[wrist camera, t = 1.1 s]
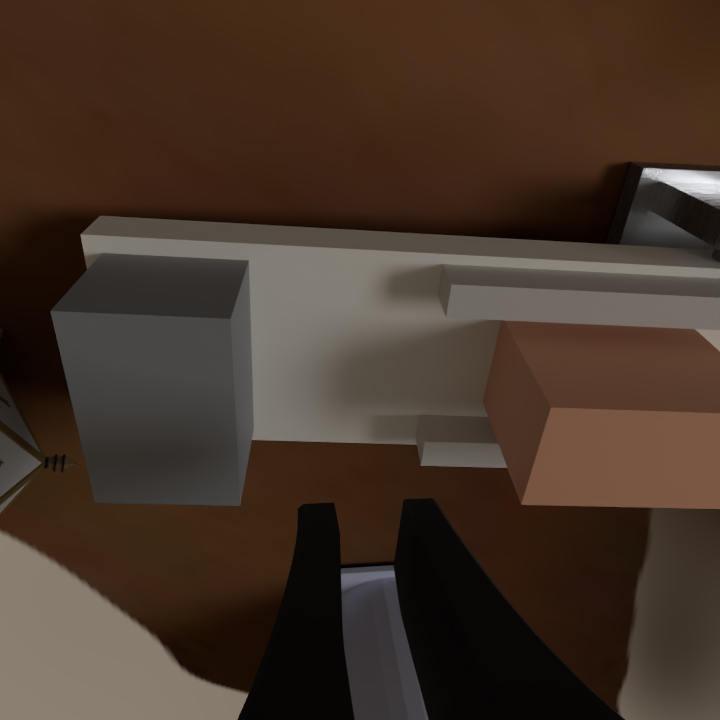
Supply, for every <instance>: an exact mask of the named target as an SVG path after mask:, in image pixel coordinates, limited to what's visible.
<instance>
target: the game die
mask: <svg viewBox="0 0 720 720" xmlns="http://www.w3.org/2000/svg"><path fill="white" fill-rule="evenodd" d="M2 334H3V328H2V329H0V343H3V340H2ZM75 464H77V463H75V462H74V461H72V460H70V459H69V458H67V457H66V456H65V455H63V456H57V455H55V456H54V457H45V455H44V453H43V451H42V449H41V447H40V445H39V444H38V442H37V440H36V438H35V436H34V434H33V432H32V431H31V429H30V427H29V425H28V423H27V421H26V419H25V418H24V416H23V414H22V412H21V410H20V408H19V406H18V405H17V403H16V401H15V399H14V397H13V395H12V393H11V391H10V390H9V388H8V386H7V384H6V382H5V380H4V378H3V377H2V375H1V373H0V516H1V515H2V514H3V513H4V512H5V510H6V509H7V508H8V507H9V506H10V505H11V504H12V503H13V502H14V501H15V500H16V498H17V497H18V496H19V495H20V494H21V493H22V492H23V491H24V490H25V489H26V488H27V487H28V485H29V484H30V483H31V482H32V481H33V480H34V479H35V478H36V477H37V476H38V475H39V473H40V472H41V471H42V470H43V469H44V468H50V469H53V471H55V470H61V472H63V470H65V469H67V468H69V467H71V466H73V465H75Z"/></svg>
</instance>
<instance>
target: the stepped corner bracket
mask: <svg viewBox="0 0 720 720" xmlns="http://www.w3.org/2000/svg"><path fill="white" fill-rule="evenodd" d="M606 244H614V245H631V246H649V247H667V248H685V249H703V250H714V249H715V248H716V249H718V250H720V166H704V165H683V164H661V163H640V162H631V163H630V166H629V170H628V173H627V176H626V179H625V183H624V186H623V189H622V192H621V195H620V199H619V202H618V205H617V208H616V212H615V215H614V218H613V221H612V225H611V228H610V231H609V234H608V237H607V241H606Z"/></svg>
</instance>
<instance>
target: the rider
mask: <svg viewBox="0 0 720 720" xmlns="http://www.w3.org/2000/svg"><path fill="white" fill-rule="evenodd" d="M483 404H484V407H485V409H486V412H487V415H488V417H489V420H490V423H491V425H492V428H493V431H494V433H495V436H496V439H497V441H498V444H499V447H500V449H501V452H502V455H503V457H504V460H505V463H506V465H507V468H508V471H509V473H510V476H511V479H512V481H513V484H514V487H515V489H516V492H517V495H518V497H519V500H520V503H521V505H560V506H607V507H654V508H701V509H720V351H719V350H717V349H716V348H715V347H714V346H713V345H712V344H711V343H710V342H709V341H708V340H706V339H705V338H704V337H703V336H702V335H701V334H700V333H699V332H698V331H697V330H695V329H682V328H660V327H638V326H616V325H594V324H572V323H550V322H528V321H506V320H501V324H500V329H499V333H498V338H497V342H496V346H495V351H494V355H493V360H492V364H491V368H490V373H489V377H488V382H487V386H486V390H485V395H484V399H483Z"/></svg>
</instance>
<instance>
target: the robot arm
mask: <svg viewBox="0 0 720 720" xmlns="http://www.w3.org/2000/svg"><path fill="white" fill-rule="evenodd" d="M238 720H625V719H624V718H622V717H621V716H620V715H619V714H618V713H617V712H616V711H614V710H613V709H612V708H611V707H610V706H609V705H608V704H607V703H605V702H604V701H603V700H602V699H601V698H600V697H599V696H598V695H597V694H595V693H594V692H593V691H592V690H591V689H590V688H589V687H588V686H587V685H586V684H585V683H584V682H583V681H582V680H581V679H580V678H579V677H578V676H577V675H576V674H575V673H574V672H573V671H572V670H571V669H570V668H569V667H568V666H567V665H566V664H565V663H564V662H563V661H562V660H561V659H560V658H559V657H558V656H557V655H556V654H555V653H554V652H553V651H552V650H551V649H550V648H549V647H548V646H547V644H546V643H545V642H544V641H543V640H542V639H541V638H540V637H539V636H538V635H537V633H536V632H535V631H534V630H533V629H532V628H531V627H530V626H529V625H528V623H527V622H526V621H525V620H524V619H523V618H522V616H521V615H520V614H519V613H518V612H517V611H516V609H515V608H514V607H513V606H512V605H511V603H510V602H509V601H508V600H507V599H506V597H505V596H504V595H503V594H502V592H501V591H500V590H499V589H498V587H497V586H496V585H495V583H494V582H493V581H492V580H491V578H490V577H489V576H488V574H487V573H486V572H485V571H484V569H483V568H482V567H481V565H480V564H479V563H478V561H477V560H476V559H475V557H474V556H473V555H472V553H471V552H470V550H469V549H468V548H467V546H466V545H465V543H464V542H463V541H462V539H461V538H460V536H459V535H458V533H457V532H456V531H455V529H454V528H453V526H452V525H451V523H450V522H449V520H448V519H447V517H446V516H445V514H444V513H443V511H442V510H441V508H440V506H439V505H438V503H437V502H436V501H435V500H434V499H433V498H429V499H406V500H404V502H403V508H402V515H401V521H400V528H399V534H398V540H397V547H396V553H395V560H394V565H389V566H372V567H356V568H341V556H340V532H339V526H338V521H337V515H336V511H335V506H334V503H316V504H303V505H302V506H301V507H299V508H298V531H297V539H296V545H295V550H294V555H293V560H292V565H291V569H290V573H289V577H288V581H287V585H286V589H285V592H284V596H283V600H282V603H281V606H280V609H279V612H278V616H277V619H276V622H275V625H274V628H273V631H272V634H271V637H270V640H269V643H268V646H267V648H266V651H265V654H264V657H263V659H262V662H261V665H260V667H259V670H258V672H257V675H256V677H255V680H254V682H253V685H252V687H251V690H250V692H249V695H248V697H247V699H246V702H245V704H244V706H243V709H242V711H241V713H240V715H239V718H238Z"/></svg>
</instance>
